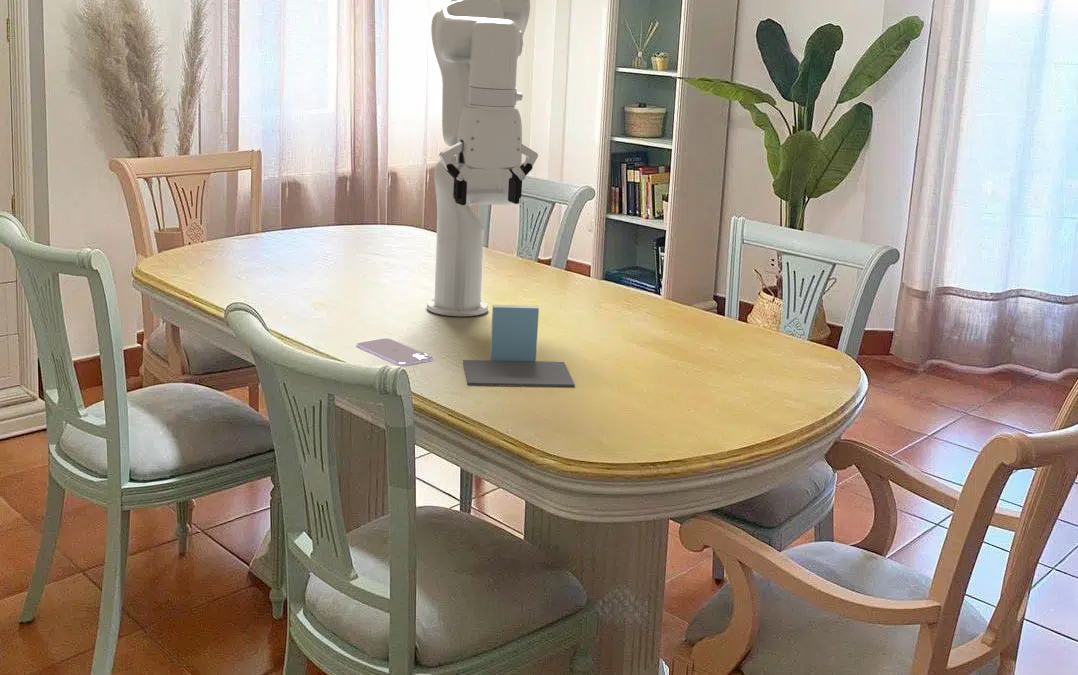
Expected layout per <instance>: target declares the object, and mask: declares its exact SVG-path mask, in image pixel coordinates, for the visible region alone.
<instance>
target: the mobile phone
mask: <svg viewBox="0 0 1078 675" xmlns="http://www.w3.org/2000/svg"><path fill="white" fill-rule="evenodd" d="M355 347H356V348H358V349H360V350H362V351H365V352H367V353H369V354H372V355H374V356H375V357H378V358H381V359H382V360H385V361H387V362H389V363H392V364H394V365H396V366H401V367H406V366H412V364H413V365H417V363H418V364H422V363H421V362H424V363H426V362H425V361H429V362H432V361H431V360H433V359H434V357H433V356H431V355H429V354H427V353H425V352H422V351H420V350H417V349H415V348H413V347H410V346H408V345H405V344H404V343H400V342H398V341H396V340H393V339H392V338H388V337H387V338H379V339H375V340H369V341H362V342H357V343H356V344H355ZM433 361H434V360H433Z"/></svg>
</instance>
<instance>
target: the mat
mask: <svg viewBox="0 0 1078 675" xmlns="http://www.w3.org/2000/svg"><path fill="white" fill-rule="evenodd" d="M462 364H463V369H464V375H465V379H466V384H467V386H498V385H501V386H503V385H504V386H505V387H507V386H509V385H510V387H511V386H512V387H514V386H516V387H517V386H518V387H557V388H558V387H565V388H566V387H567V388H569V387H571V388H572V387H573V388H574V387H575V382H574V380H573V378H572V376H571V374H570V372H569V370H568V368H567V365H566V364H565V361H545V360H544V361H543V360H542V361H540V360H539V361H537V360H536V361H495V360H490V359H489V360H487V359H486V360H485V359H484V360H483V359H463V360H462Z"/></svg>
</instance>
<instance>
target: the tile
mask: <svg viewBox="0 0 1078 675" xmlns="http://www.w3.org/2000/svg"><path fill="white" fill-rule="evenodd" d="M491 311H492V312H491V330H490V331H491V332H490V349H489V350H490V351H489V360H495V361H537V346H538V328H539V327H538V326H539V311H540V308H539V306H538V305H523V304H520V305H518V304H514V305H513V304H492V310H491Z"/></svg>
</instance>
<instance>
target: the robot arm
mask: <svg viewBox="0 0 1078 675" xmlns="http://www.w3.org/2000/svg"><path fill="white" fill-rule="evenodd" d="M530 13H531V0H451V2H450V3H448V4H446V5H444V6H443V7H442V8H441V9H440V10H438V11H436V13H434V15H433V16H432V20H431V28H430V29H431V32H430V33H431V41H432V47H433V50H434V51H433V52H434V55H435V58H436V60H437V63H438V67H439V70H440V74H441V79H442V95H441V96H442V97H441V98H442V100H441V101H442V102H441V103H442V106H441V111H442V112H441V114H442V115H441V117H442V118H441V119H442V120H441V121H442V124H441V126H442V128H441V129H442V137H443V141H444V143H445V144H446V145H447V146H448V148H446V149H443V150H442V151H440V152H439V156H438V157H439V158H440V160H439V161H438V162H437V163H436V165H435V167H434V172H433V173H434V175H433V179H434V190H435V198H436V217H437V218H436V244H435V246H436V247H435V251H436V253H435V278H434V280H435V281H434V298H432V299H430V300H428V301H427V302H426V309H427V310H428V312H431V313H434V314H437V315H442V316H447V317H474V316H479V315H480V316H481V315H483V314H485V313H487V312H488V310H489V309H488V308H489V305H488V303H486V302H485V301H483V300H482V299H481V298H482V277H483V257H484V254H483V253H484V237H485V236H484V234H485V232H484V231H485V230H484V224H483V221H482V219H481V218H480V217H479V215H478V214H477V212H476V211H475V210H474V209H473V207H472V206H474V205H475V206H476V205H491V206H493V205H498V206H499V205H501V206H506V205H507V206H508V205H513V204H515V205H519V204H520V199H521V198H522V193H523V192H522V189H523V181H524V180H525V179H526V176H527V175H528V174H529V173H530V172H531V171H532V170H533V167H534V165H535V163H536V160H537V159H538V158H539V157H538V156H539V154H538V152H536V151H534V150H533V149H531V148H529V147H527V146H526V145H524V144H523V124H522V117H521V114H520V111H519V108H517V106H516V105H517V102H518V101H522V100H523V93H522V92H518V91H517V71H518V70H517V67H518V58H519V57H520V56H521V54H522V52H523V46H524V41H523V40H524V39H523V38H524V34H525V31H526V28H527V26H528V22H529V19H530ZM523 155H524V156H525V159H524V160H525V161H524V162H523V160H522V159H523ZM522 162H523V163H522Z"/></svg>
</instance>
